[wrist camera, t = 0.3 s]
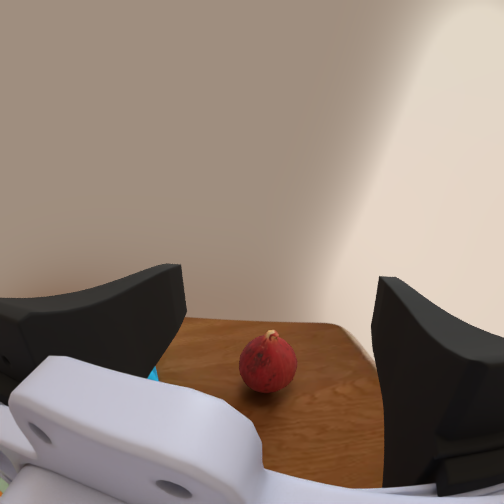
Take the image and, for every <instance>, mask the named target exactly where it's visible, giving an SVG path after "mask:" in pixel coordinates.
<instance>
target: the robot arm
mask: <svg viewBox="0 0 504 504" xmlns="http://www.w3.org/2000/svg"><path fill="white" fill-rule="evenodd" d="M186 312H187V308H186V301H185V293H184V286H183V277H182V269H181V265H178V264H162V265H158V266H155V267H151V268H149V269H146V270H143V271H140V272H138V273H135V274H132V275H129V276H127V277H124V278H121V279H118V280H115V281H113V282H110V283H106V284H104V285H100V286H97V287H94V288H90V289H86V290H82V291H78V292H73V293H67V294H61V295H55V296H49V297H37V298H0V477H1V478H2V479H3V480H4V481H6V482H7V483H8V484H9V486H8V488H7V489H6V490H5V492H4V493H3V494H2V496H1V497H0V504H504V338H503V337H500V336H497V335H494V334H491V333H489V332H486V331H484V330H481V329H479V328H477V327H474V326H472V325H470V324H468V323H466V322H464V321H462V320H460V319H458V318H456V317H454V316H453V315H451V314H449V313H447V312H446V311H444V310H443V309H441V308H440V307H438V306H437V305H435V304H433V303H432V302H431V301H429V300H428V299H426V298H425V297H424V296H422V295H421V294H419V293H418V292H417V291H416V290H414V289H413V288H411V287H410V286H408V284H406V283H405V282H403V281H402V280H400V279H399V278H397V277H382V276H379V281H378V288H377V294H376V301H375V306H374V312H373V318H372V323H371V334H372V347H373V353H374V357H375V363H376V367H377V372H378V377H379V382H380V387H381V393H382V399H383V407H384V471H383V484H382V488H374V489H350V488H344V487H338V486H333V485H328V484H323V483H318V482H314V481H309V480H305V479H301V478H297V477H293V476H289V475H285V474H281V473H278V472H274V471H271V470H267V469H264V467H263V464H262V442H261V440H260V438H259V436H258V434H257V431H256V429H255V427H254V425H253V423H252V422H251V421H250V420H249V419H248V418H247V417H245V416H244V415H243V414H241V413H240V412H238V411H237V410H236V409H234V408H233V407H232V406H230V405H229V404H228V403H227V402H225V401H224V400H222V399H219V398H216V397H213V396H211V395H208V394H205V393H202V392H199V391H197V390H194V389H191V388H187V387H182V386H177V385H172V384H167V383H162V382H158V381H154V380H149V379H147V378H148V377H149V375H150V373H151V371H152V370H153V368H154V367H155V365H156V364H157V362H158V361H159V359H160V358H161V357H162V355H163V354H164V352H165V351H166V349H167V348H168V346H169V345H170V343H171V342H172V340H173V339H174V337H175V335H176V334H177V332H178V330H179V328H180V326H181V324H182V322H183V320H184V317H185V315H186Z"/></svg>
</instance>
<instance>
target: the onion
mask: <svg viewBox="0 0 504 504" xmlns="http://www.w3.org/2000/svg"><path fill="white" fill-rule="evenodd" d="M278 336H279V335H278V333H277V332H276V331H275V330H269V331H268V332H267V333H266V334H265V335H263V336H259V337H257V338H255V339H253V340H252V341H250V342H249V343H248V344H247V345H246V347H245V348H244V350H243V352H242V353H241V355H240V361H239V370H240V375H241V377H242V379H243V380H244V382H245V384H246V385H247V386H248V387H250V388H251V389H253V390H254V391H257V392H262V393H271V392H276V391H278V390H280V389H283V388H284V387H286V386H287V385H288V384H289V383H290V382H291V381H292V380H293V377H294V375H295V372H296V369H297V359H296V356H295V353H294V350H293V349H292V347H291V346H290V345H289V344H288V343H287V342H286V341H285V340H283V339H282V338H280V337H278Z"/></svg>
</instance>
